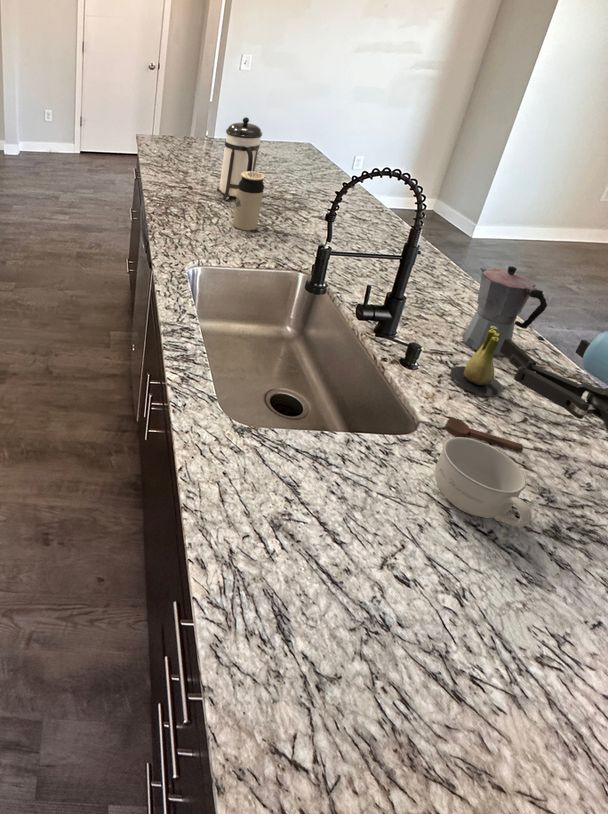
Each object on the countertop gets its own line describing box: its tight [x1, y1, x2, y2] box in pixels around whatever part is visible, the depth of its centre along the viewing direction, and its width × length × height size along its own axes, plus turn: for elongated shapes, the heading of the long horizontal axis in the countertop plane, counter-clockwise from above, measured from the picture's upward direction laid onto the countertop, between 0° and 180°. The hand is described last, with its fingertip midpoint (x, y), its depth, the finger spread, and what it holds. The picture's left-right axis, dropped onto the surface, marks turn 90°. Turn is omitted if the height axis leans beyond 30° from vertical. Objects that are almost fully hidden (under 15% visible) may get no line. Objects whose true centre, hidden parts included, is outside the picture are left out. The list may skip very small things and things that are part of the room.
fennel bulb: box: [464, 326, 500, 385], centre depth 108 cm, size 6×5×12 cm
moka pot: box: [462, 265, 548, 357], centre depth 118 cm, size 10×15×20 cm, turn 18°
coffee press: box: [216, 116, 263, 201], centre depth 198 cm, size 17×16×30 cm
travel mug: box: [232, 171, 266, 231], centre depth 175 cm, size 8×8×18 cm
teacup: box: [434, 436, 533, 528], centre depth 82 cm, size 14×11×8 cm
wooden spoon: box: [444, 418, 524, 454], centre depth 97 cm, size 12×4×1 cm, turn 63°
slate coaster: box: [449, 365, 503, 399], centre depth 111 cm, size 9×9×1 cm
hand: (542, 345), depth 95 cm, fingers open, 13 cm apart
